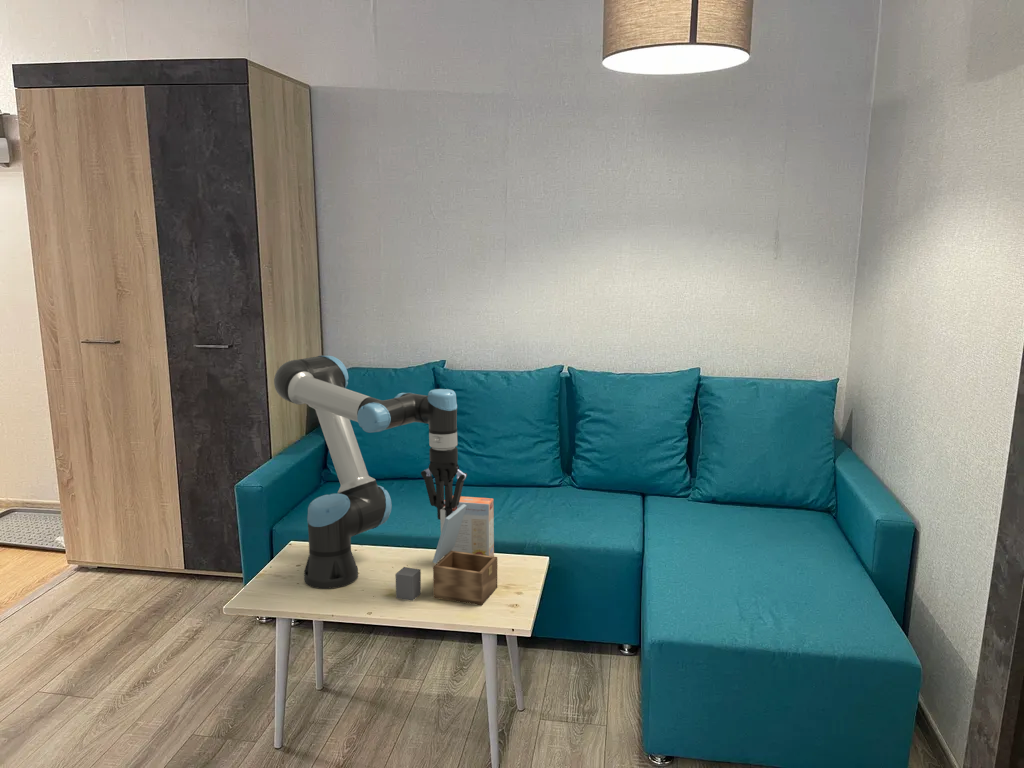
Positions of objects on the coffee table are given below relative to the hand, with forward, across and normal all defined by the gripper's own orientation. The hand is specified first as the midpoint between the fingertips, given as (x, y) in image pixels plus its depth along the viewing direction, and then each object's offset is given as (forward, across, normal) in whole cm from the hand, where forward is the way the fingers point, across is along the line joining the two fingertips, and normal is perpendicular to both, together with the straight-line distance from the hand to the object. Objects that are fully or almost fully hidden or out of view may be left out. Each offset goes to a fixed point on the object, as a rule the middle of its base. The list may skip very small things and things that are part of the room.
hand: (445, 531), depth 218 cm
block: (+17, -8, -7) cm, 20 cm away
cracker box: (+17, 0, +17) cm, 24 cm away
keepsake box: (+17, +6, 0) cm, 18 cm away
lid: (+1, +2, 0) cm, 2 cm away
